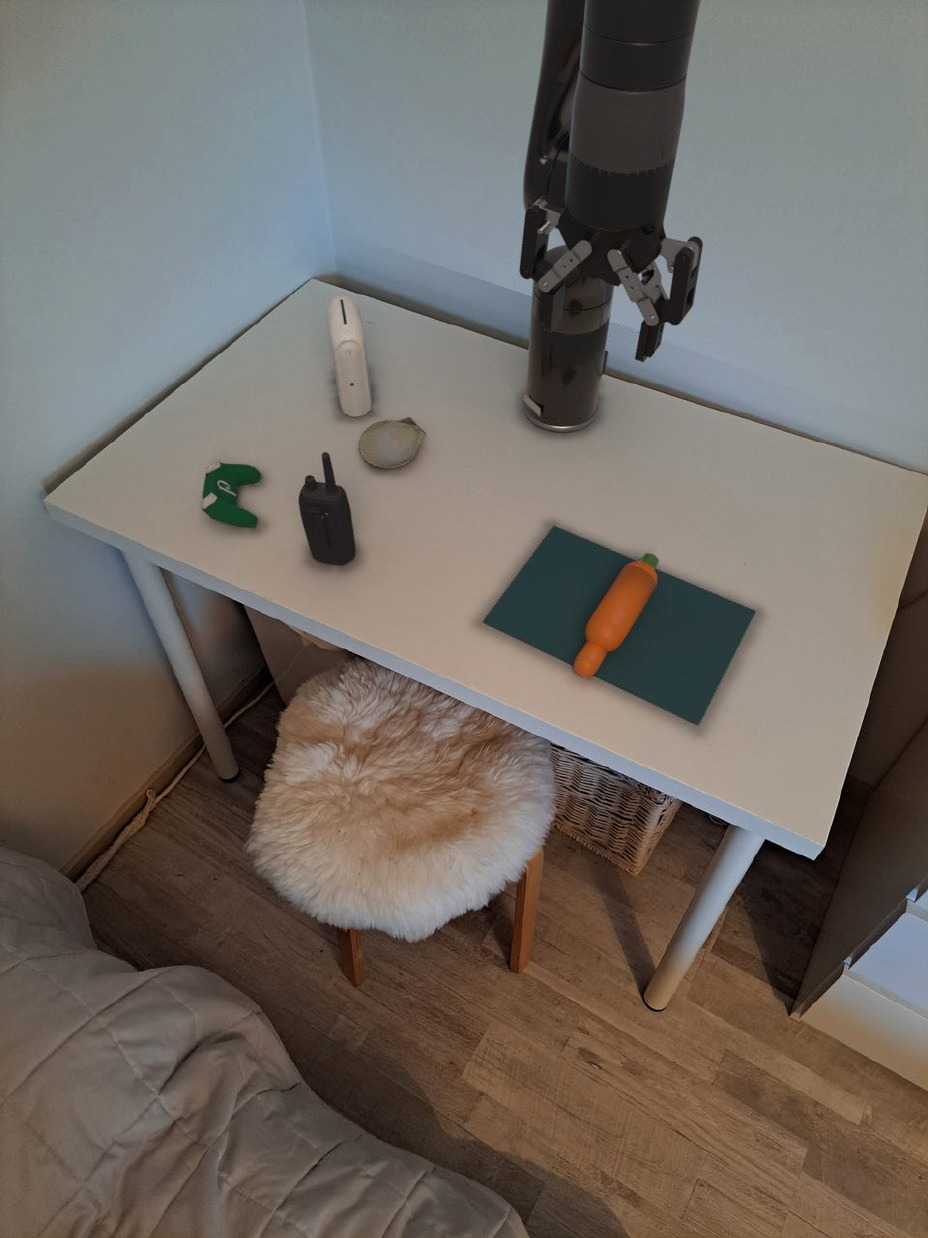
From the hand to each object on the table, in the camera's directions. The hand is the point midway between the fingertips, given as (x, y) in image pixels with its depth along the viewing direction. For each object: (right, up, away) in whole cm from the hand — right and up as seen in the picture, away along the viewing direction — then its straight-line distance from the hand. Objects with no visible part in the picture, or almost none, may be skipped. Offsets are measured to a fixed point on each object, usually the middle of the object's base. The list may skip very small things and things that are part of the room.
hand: (597, 340), depth 71 cm
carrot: (+5, -24, +16) cm, 29 cm away
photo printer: (-26, +6, +40) cm, 48 cm away
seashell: (-20, -3, +33) cm, 38 cm away
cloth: (+5, -24, +17) cm, 29 cm away
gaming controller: (-38, -10, +27) cm, 48 cm away
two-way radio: (-26, -17, +22) cm, 38 cm away
